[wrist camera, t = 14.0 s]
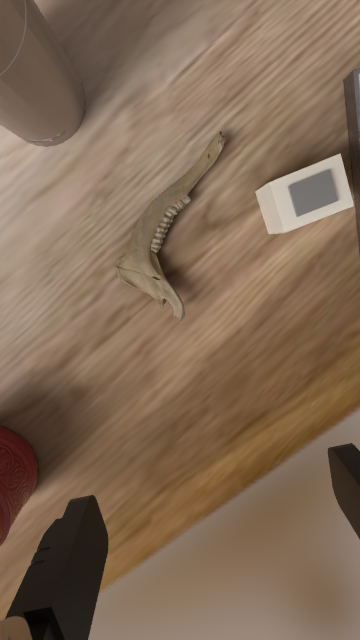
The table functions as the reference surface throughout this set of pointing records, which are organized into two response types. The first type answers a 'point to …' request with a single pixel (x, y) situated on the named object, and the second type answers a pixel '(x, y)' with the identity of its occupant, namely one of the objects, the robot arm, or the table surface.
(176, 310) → the jawbone
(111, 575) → the table surface
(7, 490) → the canister
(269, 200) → the block
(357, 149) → the rail base
